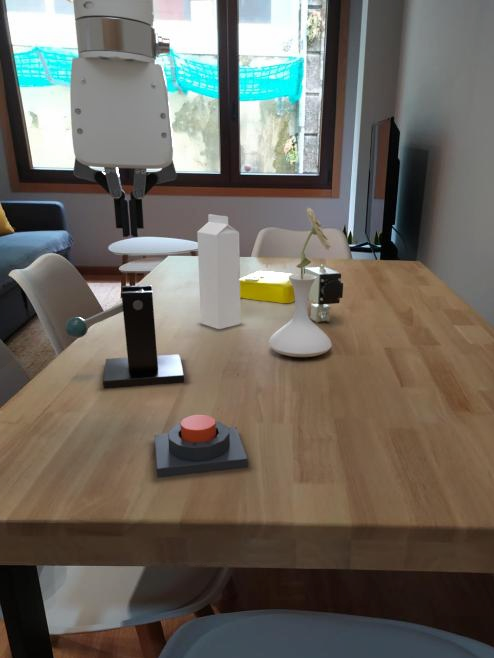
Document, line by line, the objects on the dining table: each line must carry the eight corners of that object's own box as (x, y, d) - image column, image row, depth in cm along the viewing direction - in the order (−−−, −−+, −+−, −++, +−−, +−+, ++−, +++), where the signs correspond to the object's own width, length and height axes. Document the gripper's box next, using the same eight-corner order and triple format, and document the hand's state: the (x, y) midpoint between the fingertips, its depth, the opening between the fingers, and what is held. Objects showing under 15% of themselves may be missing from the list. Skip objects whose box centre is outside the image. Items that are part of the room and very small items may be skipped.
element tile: (289, 304, 131) (290, 284, 129) (234, 297, 136) (233, 278, 134) (310, 291, 144) (311, 273, 142) (259, 286, 149) (259, 268, 147)
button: (182, 445, 61) (181, 431, 60) (180, 429, 64) (179, 416, 63) (218, 441, 62) (217, 428, 61) (213, 426, 65) (213, 413, 64)
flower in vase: (323, 366, 92) (330, 212, 83) (259, 358, 95) (260, 209, 86) (339, 343, 104) (347, 206, 94) (282, 337, 107) (284, 204, 97)
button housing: (157, 478, 59) (155, 454, 58) (155, 443, 66) (153, 421, 65) (247, 467, 61) (247, 444, 60) (236, 435, 69) (235, 413, 67)
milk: (222, 318, 118) (220, 213, 110) (241, 324, 115) (240, 215, 106) (200, 323, 114) (196, 214, 106) (218, 329, 110) (216, 217, 102)
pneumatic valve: (321, 328, 113) (323, 270, 108) (299, 314, 123) (301, 260, 118) (344, 326, 115) (348, 269, 110) (322, 312, 125) (324, 259, 120)
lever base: (103, 388, 82) (92, 298, 76) (106, 365, 90) (97, 283, 85) (184, 382, 84) (179, 294, 79) (179, 360, 93) (175, 280, 88)
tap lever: (71, 344, 81) (59, 325, 80) (73, 337, 84) (62, 319, 83) (151, 308, 82) (141, 289, 81) (150, 303, 85) (141, 285, 84)
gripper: (189, 59, 60) (194, 231, 67) (43, 48, 56) (64, 231, 63) (195, 47, 53) (200, 240, 60) (29, 33, 49) (55, 239, 56)
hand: (130, 235), depth 61 cm, fingers closed
